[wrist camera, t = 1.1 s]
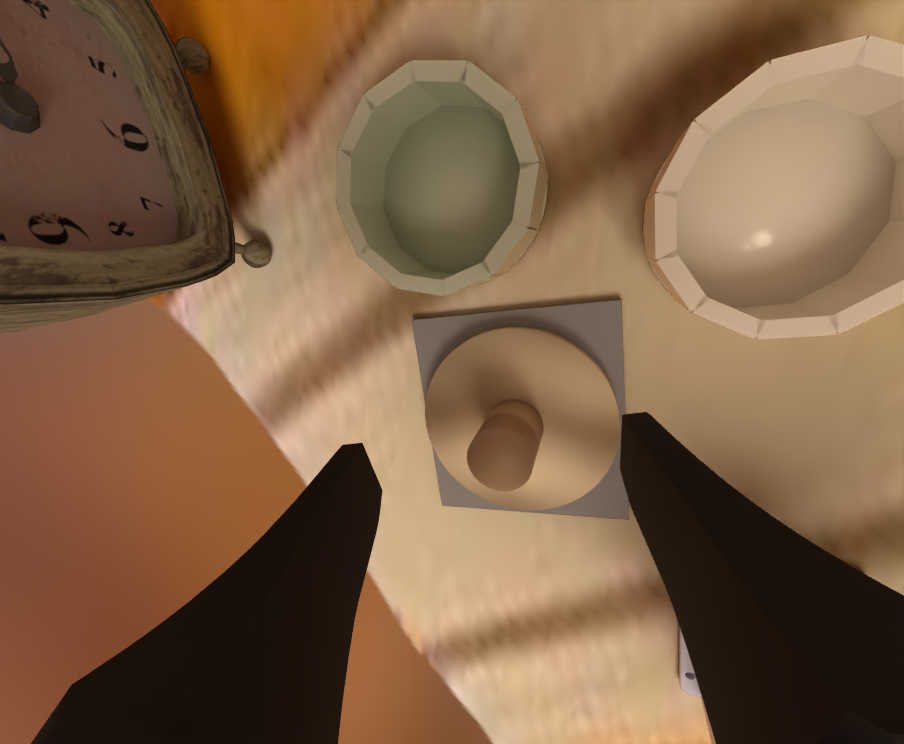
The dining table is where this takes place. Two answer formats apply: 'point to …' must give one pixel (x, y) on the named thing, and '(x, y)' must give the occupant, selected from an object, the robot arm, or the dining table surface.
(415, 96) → the sage bowl
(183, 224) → the tabletop clock
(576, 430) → the lid
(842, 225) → the cream bowl
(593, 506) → the slate mat
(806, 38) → the dining table surface
